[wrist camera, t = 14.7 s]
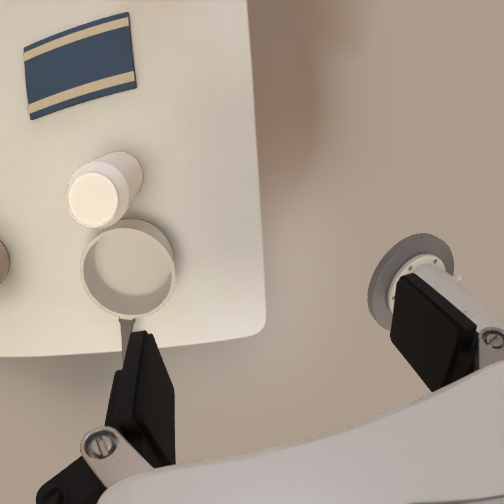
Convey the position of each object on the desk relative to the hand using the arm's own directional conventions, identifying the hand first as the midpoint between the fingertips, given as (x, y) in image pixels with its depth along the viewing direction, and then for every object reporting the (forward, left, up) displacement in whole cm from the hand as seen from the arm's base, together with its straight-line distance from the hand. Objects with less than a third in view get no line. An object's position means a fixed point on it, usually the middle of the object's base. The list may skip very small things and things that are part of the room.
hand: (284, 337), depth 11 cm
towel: (+15, -18, -30) cm, 38 cm away
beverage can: (+11, -3, -30) cm, 32 cm away
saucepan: (+14, +12, -30) cm, 35 cm away
